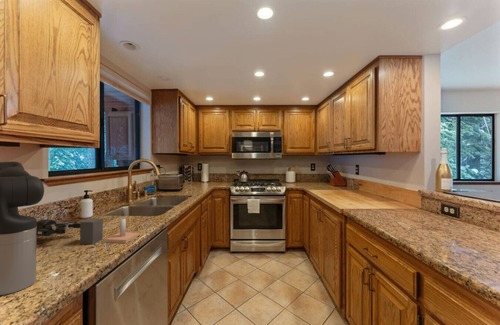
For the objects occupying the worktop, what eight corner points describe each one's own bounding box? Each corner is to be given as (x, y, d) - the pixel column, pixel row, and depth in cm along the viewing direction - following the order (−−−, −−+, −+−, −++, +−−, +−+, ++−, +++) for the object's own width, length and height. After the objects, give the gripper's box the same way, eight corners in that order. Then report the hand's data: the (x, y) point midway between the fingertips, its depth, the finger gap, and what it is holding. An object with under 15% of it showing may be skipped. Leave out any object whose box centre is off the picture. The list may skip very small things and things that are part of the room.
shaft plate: (125, 243, 98) (126, 222, 98) (105, 242, 99) (105, 222, 99) (138, 235, 108) (138, 217, 108) (119, 235, 109) (119, 216, 109)
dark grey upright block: (92, 244, 97) (92, 222, 97) (80, 243, 97) (80, 222, 97) (102, 239, 103) (102, 218, 103) (90, 239, 103) (90, 218, 103)
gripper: (24, 224, 94) (58, 224, 93) (55, 215, 108) (85, 216, 107) (23, 240, 94) (58, 242, 93) (55, 230, 108) (85, 231, 107)
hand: (73, 228), depth 100 cm, fingers open, 8 cm apart
